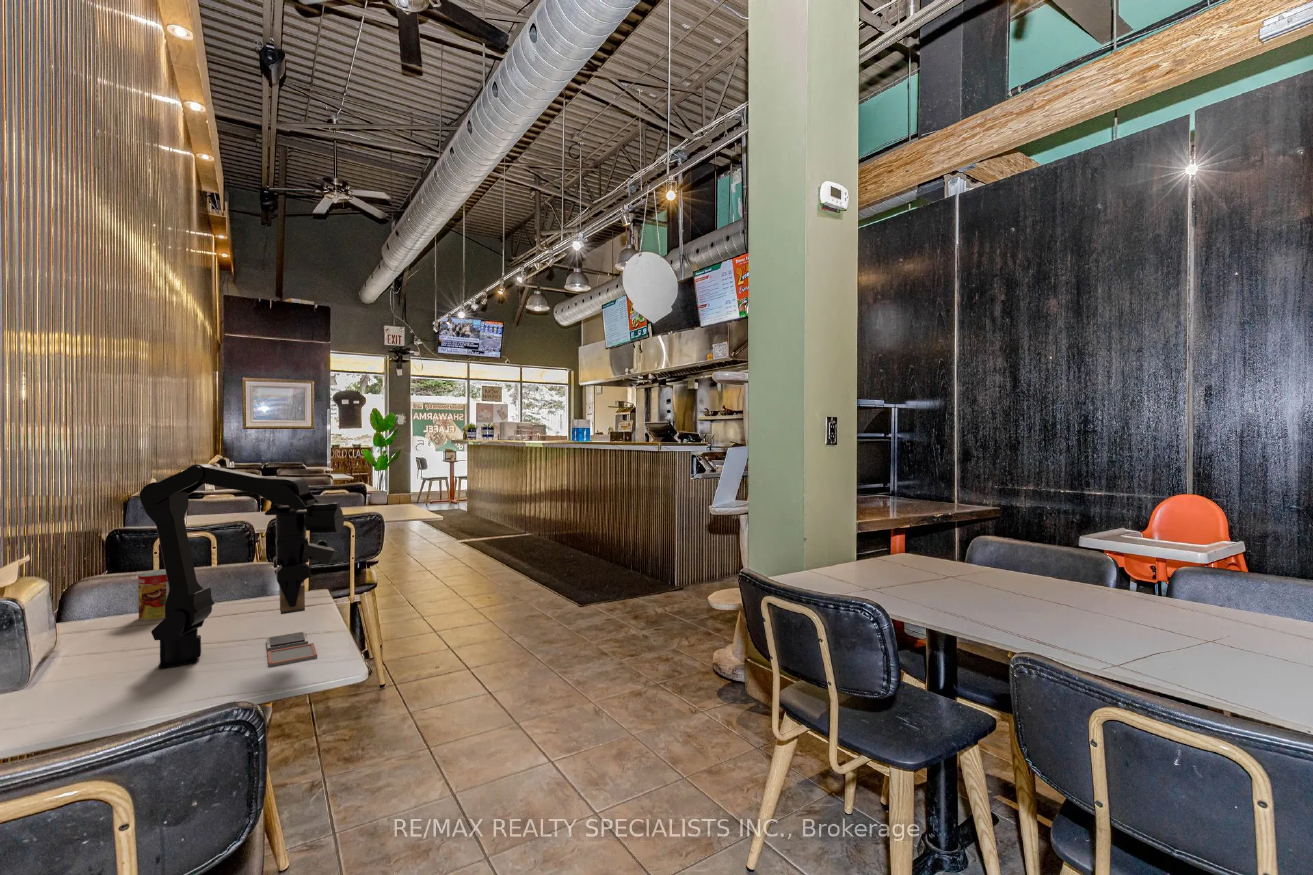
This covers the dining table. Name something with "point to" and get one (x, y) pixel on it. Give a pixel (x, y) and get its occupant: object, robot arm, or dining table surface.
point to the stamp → (299, 604)
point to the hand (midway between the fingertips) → (291, 604)
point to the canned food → (152, 594)
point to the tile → (291, 654)
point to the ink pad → (286, 641)
